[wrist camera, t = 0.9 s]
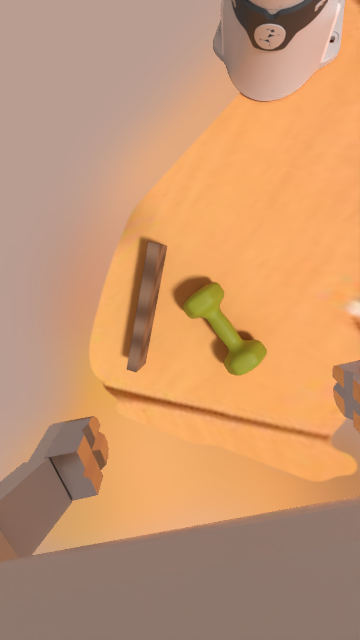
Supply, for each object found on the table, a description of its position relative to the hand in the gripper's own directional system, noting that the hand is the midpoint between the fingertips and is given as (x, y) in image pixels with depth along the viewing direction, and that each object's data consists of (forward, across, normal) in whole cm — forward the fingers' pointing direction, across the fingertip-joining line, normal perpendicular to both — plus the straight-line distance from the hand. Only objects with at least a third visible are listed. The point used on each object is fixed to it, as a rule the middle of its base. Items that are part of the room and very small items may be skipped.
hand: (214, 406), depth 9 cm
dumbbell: (+41, -5, +15) cm, 44 cm away
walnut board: (+44, +8, +9) cm, 46 cm away
